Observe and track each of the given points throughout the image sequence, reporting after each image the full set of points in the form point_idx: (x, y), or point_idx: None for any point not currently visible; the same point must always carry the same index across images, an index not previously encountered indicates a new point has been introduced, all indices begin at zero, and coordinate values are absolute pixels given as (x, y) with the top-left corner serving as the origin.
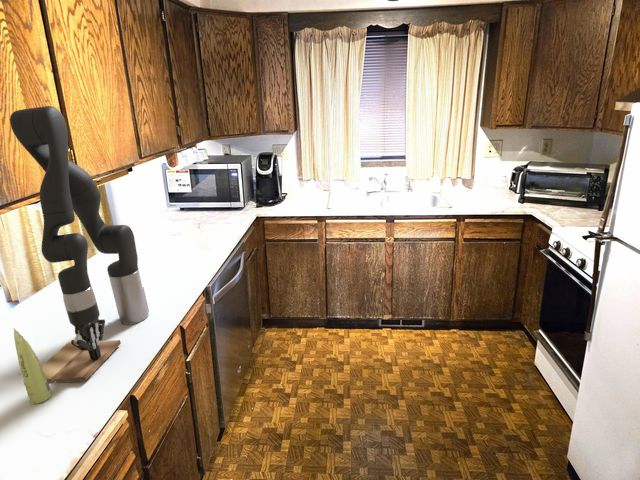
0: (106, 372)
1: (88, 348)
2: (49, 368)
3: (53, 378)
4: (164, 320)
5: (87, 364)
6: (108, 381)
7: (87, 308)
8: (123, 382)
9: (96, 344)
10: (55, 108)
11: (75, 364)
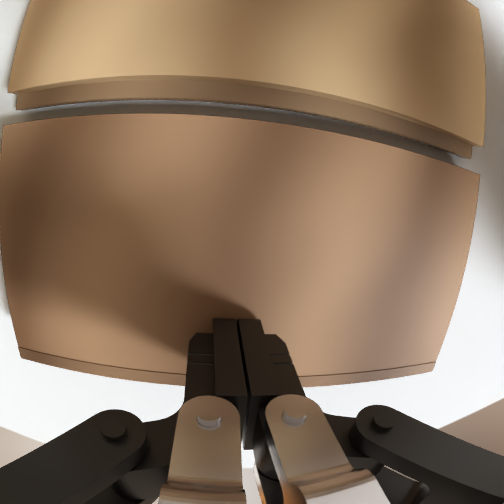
0: (139, 396)
1: (102, 495)
2: None
3: (36, 90)
4: (500, 392)
5: (145, 312)
6: (81, 419)
7: None
8: None
9: (253, 470)
10: None
11: (164, 181)
